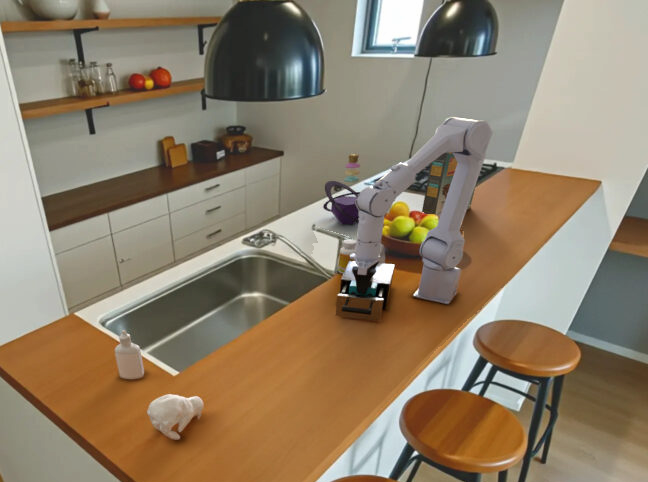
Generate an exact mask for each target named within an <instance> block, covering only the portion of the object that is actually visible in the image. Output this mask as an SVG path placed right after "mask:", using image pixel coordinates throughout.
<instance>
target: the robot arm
mask: <svg viewBox="0 0 648 482" xmlns="http://www.w3.org/2000/svg"><path fill="white" fill-rule="evenodd" d="M492 135H493V130H492V128H491V126H490V125H489V123H488V122H487V121H486V120H475V119H469V118H461V117H457V116H451V117H448V118H446V119H445V121H443V122H442V124H440V125H439V126H437V127H436V129H435V133H434V135H433V136H432V137H431V138H430V139H429V140H428V141H427V142H426V143H425V144H424V145H423V146H422V147H421V148H420V149H419V150H418V151H417V152H416V153H415V154H414V155H413V156H412V157H411V158H409V160H408V161H406V162H405V163H402V162H399V163H397V164H393V165H392V166H391V167H390V170H389V171H388V172H386V173H385V174H384V175H383V176H382V177H381V178H380V179H378V180H376V181H375V182H374V184H373V185H369V186H366V187H365V188H363V189H361V190H360V191H359V192H360V193H359V195H358V198H357V199H356V200H355V204H356V207H357V208H358V211H359V213H358V216H359V224H358V223H357V224H358V226H357V233H356V234H357V236H356V252H355V254H351V255H350V259H354V260H355V262H356V264H357V266H353V268H352V272H353V274H354V277H355V280H356V287H357V293H358V294H366V292H367V290H368V286H369V283H370V280H371V278H372V277H373V275H374V274H375V272H376V269H375V268H376V266H377V265H378V263H379V260H380V256H379V253H380V246H381V245H382V238H383V231H384V223H385V218H386V217H385V216H386V214H387V213H389V211H391V208H392V206H393V204H394V202H396V199H397V198H398V197H399V196H401V194H403V193H404V192H405V191H406V190H407V189H408V188H409V187H410V186H412V185H413V184H414V183H415V181H416V175H417V174H418V173H420V172H421V171H422V170H424V169H425V168H426V167H428V166H430V165H431V162H433V161H434V160H435V159H437V158H438V157H439V156H441V155H442V154H443V153H449V152H452V153H453V155H454V156H455V158H456V160H457V162H458V164H457V167H456V170H455V173H454V176H453V179H452V182H451V185H450V188H449V191H448V194H447V197H446V200H445V203H444V206H443V209H442V212H441V215H440V218H439V219H438V222H437V225H436V226H435V227H434V228H432V229H430V230H428V231H427V233H426V236H425V238H424V239H423V241H422V242H421V244H420V247H419V251H418V252H419V255H420V257H421V258H422V260H421V262H422V263H423V266H422V269H421V275H420V279H419V284H418V285H419V286H418V288H417V290H416V291H415V292H414V293H413V294H412V298H416V299H421V300H426V301H430V302H435V303H440V304H445V305H450V303H451V302H452V300H453V299H454V298H455V297H456V295H457V293H458V292H457V291H458V287H459V283H460V280H461V275H462V269H461V268H460V267H457V266H458V264H459V263H460V262H461V261H462V258H463V257H464V256H463V255H464V246H465V244H466V243H465V242H466V240H465V238H464V236H463V234H462V233H461V227H462V224H463V222H464V219H465V216H466V213H467V211H468V209H467V207H468V204H469V202H470V199H471V196H472V193H473V190H474V188H475V189H476V186H475V185H477V181H478V179H479V176H480V173H481V170H482V167H483V165H484V163H485V159H486V156H487V150H488V147H489V144H490V141H491V139H492Z"/></svg>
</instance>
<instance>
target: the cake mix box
mask: <svg viewBox="0 0 648 482" xmlns="http://www.w3.org/2000/svg"><path fill="white" fill-rule="evenodd" d="M457 164H458V162H457V160H456V158H455V156H454V155H453V153H452V152H449V153H443V154H442V155H441V156H439V157H438V158H437V159H435V160H434V161H433V162H431V163H430V164H429V170H428V176H427V181H426V187H425V192H424V197H423V204H422V209H421V213H422V212H424V213H425V214H435V215H437V216H438V217H440V215H441V212H442V209H443V206H444V203H445V200H446V197H447V194H448V191H449V188H450V185H451V182H452V179H453V176H454V173H455V170H456V167H457ZM476 185H477V184H476ZM476 185H475V188H474V190H473V193H472V196H471V199H470V202H469V204H468V207H467V210H470V209H471V206H472V203H473V199H474V194H475V189H476ZM469 205H471V206H469Z"/></svg>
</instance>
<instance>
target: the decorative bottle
mask: <svg viewBox="0 0 648 482" xmlns="http://www.w3.org/2000/svg"><path fill="white" fill-rule="evenodd" d="M359 157H360V155H359V154H357V153H350V154H349V155H348V163H347V164H346V165H345V168H346V169H347V170H346V171H345V172H344V175H346V177H345V178H344V179H343V181H344V182H347V183H348V182H349V183H354V182H358V181H359V180H360V178H358V177H357V176H358V175H359V174H360V171H359V170H357V168H360V167H361V165H360V163H358V162H359V160H358V159H359ZM334 187H341V188H343V189H344V190H346V191H348V192H347V193H343V194H340V195H336V196H335V197H333V194H332V188H334ZM324 192H325V194H326V196H327V199H328V200H327V201H326V202H324V203H323V206H322V209H324V210H325V211H327V212H330V213H332V214H333V216H334V217H335V219H336V220H337V222H338V223H340V224H341V225H342V226H347V225H349V226H351V225H355V224H359V216H358V213H359V211H358V208H357V207H356V204H355V200H356V199H357V198H358V195H359V193H360V192H361V191H355V189H353V188H352V187H351V186H348V185H347V184H345V183H343V182H340V181H336V180H328V181H327V182H325V184H324ZM329 203H331V209H330V208H328V204H329Z"/></svg>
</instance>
